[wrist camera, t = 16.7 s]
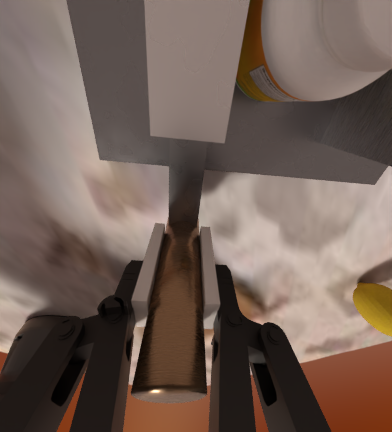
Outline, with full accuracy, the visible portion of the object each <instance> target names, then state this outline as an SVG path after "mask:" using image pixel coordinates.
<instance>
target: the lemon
mask: <svg viewBox="0 0 392 432" xmlns="http://www.w3.org/2000/svg"><path fill="white" fill-rule="evenodd" d="M353 301H354V304H355V306H356V308H357V310H358V311H359V313H360V314H361V315H362V317H363V318H364V319H365V320H366V321H367V322H368V323H370V324H371V325H372V326H373V327H374V328H376V329H377V330H378V331H380V332H382V333H384V334H386V335H389V336H392V290H391V289H390V288H388V287H386V286H383V285H380V284H375V283H367V284H366V283H362V282H360V283H358V285H357V288H356V289H355V290H354V293H353Z"/></svg>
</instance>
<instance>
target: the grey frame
mask: <svg viewBox="0 0 392 432" xmlns="http://www.w3.org/2000/svg"><path fill="white" fill-rule="evenodd" d="M67 5H68V9H69V14H70V19H71V24H72V29H73V33H74V38H75V43H76V48H77V53H78V57H79V62H80V67H81V72H82V76H83V81H84V86H85V91H86V96H87V100H88V105H89V110H90V115H91V120H92V124H93V129H94V134H95V139H96V144H97V148H98V153H99V158H100V160H107V161H118V162H129V163H140V164H151V165H162V166H169V153H170V138H166V137H156V136H150V116H149V94H148V72H147V50H146V27H145V5H144V0H67ZM388 166H392V69H390V70H388V71H387V72H386V73H385V74H383V75H382V76H381V77H379V78H378V79H376V80H375V81H373V82H372V83H370V84H369V85H367V86H365V87H363V88H362V89H360V90H358V91H356V92H354V93H351V94H349V95H346V96H343V97H340V98H336V99H332V100H324V101H290V102H264V101H257V100H254V99H251V98H249V97H248V96H246V95H245V94H244V93H243V92H242V91H241V90H240V88H239V87H238V86H237V84H236V82H235V87H234V92H233V98H232V104H231V109H230V115H229V121H228V126H227V132H226V138H225V143H215V142H208V143H207V151H206V159H205V167H204V169H206V170H217V171H228V172H239V173H250V174H261V175H272V176H283V177H294V178H305V179H316V180H327V181H338V182H349V183H360V184H371V185H375V184H376V182H377V181H378V179H379V178H380V177H381V175H382V174H383V172H384V171H385V170H386V168H387V167H388Z"/></svg>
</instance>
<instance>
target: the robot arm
mask: <svg viewBox="0 0 392 432" xmlns="http://www.w3.org/2000/svg"><path fill="white" fill-rule="evenodd" d="M164 236H165V224H159V223H155V226H154V229H153V232H152V235H151V239H150V242H149V245H148V248H147V252H146V255H145V258H144V261H136V260H131V262H130V263H129V264H128V265H127V266H126V268H125V270H124V273H123V275H122V278H121V280H120V282H119V285H118V287H117V290H116V292H115V295H112V296H109V297H107V298H105V299H104V300H103V301H102V302H101V303H100V305H99V306H98V308H97V309H98V312H99V314H98V315H95V316H92V317H88V318H85V319H80V318H79V317H76V316H69V317H60V316H40V317H35V318H32V319H29V320H28V321H26V322H25V324H24V325H23V326H22V328H21V329H20V330H19V332H18V333H17V334H16V336H15V338H14V341H13V343H12V346H11V348H10V350H9V353H8V355H7V358H6V360H5V363H4V365H3V368H2V370H1V373H0V432H57V429H58V427H59V425H60V423H61V421H62V419H63V416H64V414H65V412H66V410H67V408H68V406H69V404H70V402H71V400H72V397H73V395H74V393H75V391H76V389H77V386H78V385H79V382H80V380H81V378H82V376H83V374H84V373H85V372H86V373H85V377H84V381H83V384H82V388H81V391H80V395H79V399H78V402H77V406H76V410H75V413H74V417H73V420H72V424H71V428H70V431H69V432H123V425H124V416H125V407H126V399H127V390H128V382H129V373H130V365H131V356H132V347H133V339H134V334H133V331H134V327H135V323H136V327H145V325H146V320H147V315H148V310H149V306H150V301H151V296H152V292H153V287H154V282H155V278H156V273H157V268H158V264H159V259H160V254H161V250H162V245H163V240H164ZM199 239H200V260H201V280H202V301H203V321H204V329H212V328H213V326H214V336H213V339H212V342H211V345H213V349H212V370H211V392H210V393H211V394H210V412H209V432H256V427H255V416H254V406H253V396H252V386H251V378H250V377H251V376H250V367H251V370H252V374H253V378H254V381H255V385H256V388H257V392H258V395H259V398H260V402H261V406H262V409H263V413H264V416H265V420H266V423H267V427H268V430H269V432H331V430H330V428H329V426H328V424H327V421H326V419H325V417H324V415H323V413H322V411H321V409H320V406H319V404H318V402H317V400H316V398H315V396H314V394H313V392H312V389H311V387H310V385H309V383H308V381H307V379H306V377H305V375H304V373H303V370H302V368H301V366H300V364H299V362H298V360H297V358H296V356H295V354H294V351H293V349H292V347H291V345H290V343H289V341H288V339H287V337H286V335H285V333H284V332H283V330H282V329H281V328H280V327H279V326H278V325H276V324H274V323H270V322H267V323H264V324H263V325H261V324H258V323H256V322H253V321H251V320H249V319H247V318H246V317H245V316H244V315H243V314H242V313H241V311H240V310H239V307H238V303H237V298H236V294H235V289H234V285H233V280H232V276H231V271H230V270H229V268H228V267H227V265H215V261H214V254H213V246H212V239H211V232H210V227H201V229H200V236H199ZM249 363H250V366H249Z"/></svg>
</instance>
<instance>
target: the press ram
mask: <svg viewBox="0 0 392 432" xmlns="http://www.w3.org/2000/svg"><path fill="white" fill-rule="evenodd" d="M249 2H250V0H144V5H145V27H146V50H147V72H148V94H149V116H150V136H156V137H166V138H170V153H169V217H168V222H167V226H166V231H165V236H164V240H163V245H162V250H161V254H160V259H159V264H158V268H157V273H156V278H155V282H154V287H153V292H152V296H151V301H150V306H149V310H148V315H147V320H146V325H145V329H144V334H143V339H142V343H141V348H140V353H139V357H138V362H137V367H136V371H135V376H134V381H133V385H132V391H131V395H132V396H133V397H135V398H137V399H139V400H143V401H148V402H155V403H183V402H191V401H195V400H199V399H201V398H203V397H205V396H206V395H207V383H206V362H205V341H204V321H203V301H202V280H201V260H200V239H199V219H198V214H199V206H200V198H201V190H202V182H203V175H204V167H205V159H206V151H207V143H208V142H215V143H225V138H226V132H227V126H228V121H229V115H230V109H231V104H232V98H233V92H234V87H235V81H236V75H237V70H238V64H239V58H240V53H241V47H242V41H243V36H244V30H245V24H246V19H247V13H248V7H249Z"/></svg>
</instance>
